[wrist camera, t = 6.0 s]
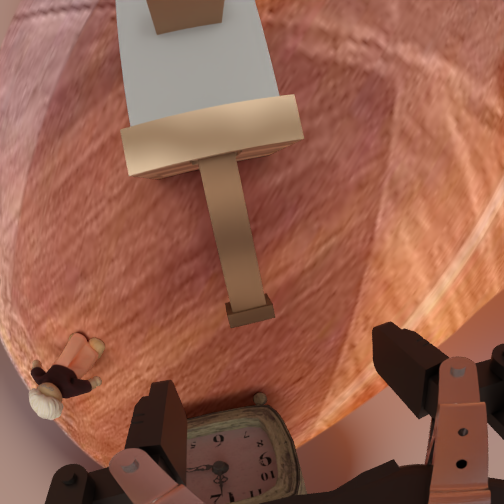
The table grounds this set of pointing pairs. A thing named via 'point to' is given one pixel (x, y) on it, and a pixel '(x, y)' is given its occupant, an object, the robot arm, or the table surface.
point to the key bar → (234, 241)
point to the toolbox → (211, 136)
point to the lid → (191, 56)
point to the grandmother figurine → (65, 376)
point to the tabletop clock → (242, 456)
